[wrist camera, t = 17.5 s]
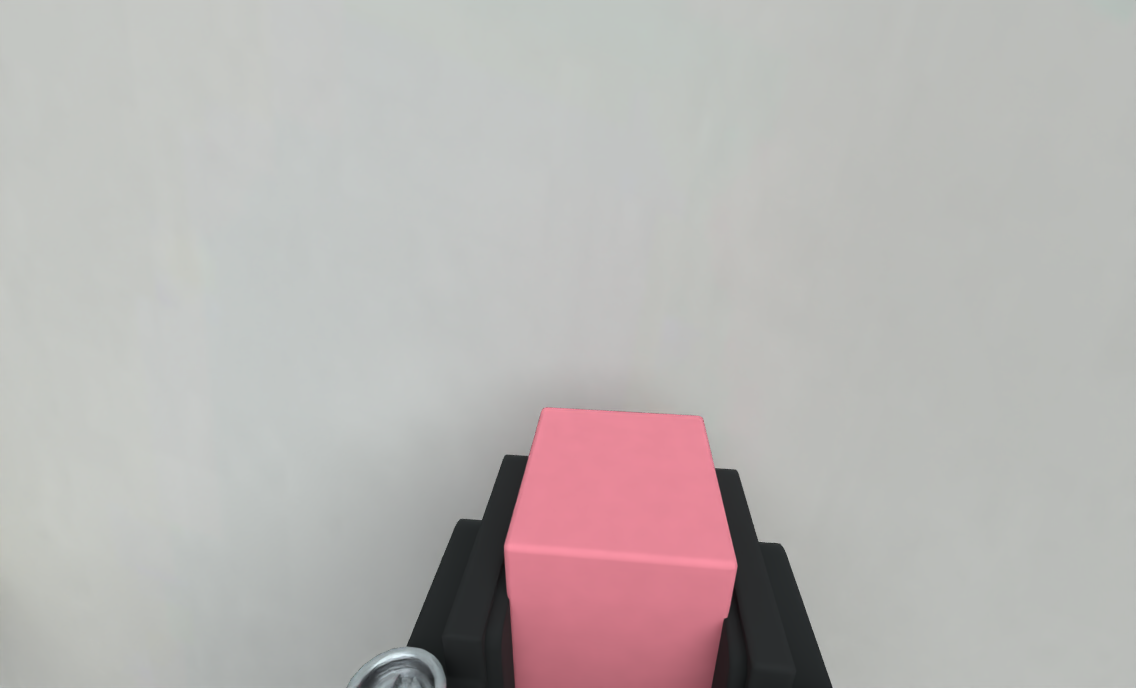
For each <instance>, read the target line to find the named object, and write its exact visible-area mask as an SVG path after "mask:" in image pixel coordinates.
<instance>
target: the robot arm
mask: <svg viewBox="0 0 1136 688" xmlns="http://www.w3.org/2000/svg"><path fill="white" fill-rule="evenodd" d="M528 457H529V456H519V455H505V456H504V459H503V461H502V464H501V467H500V470H499V473H498V476H497V479H496V481H495V484H494V487H493V490H492V493H491V496H490V499H489V502H488V504H487V507H486V510H485V513H484V516H483V519H482V520H470V519H460V520H459V521H458V522H457V524H456V526H455V528H454V531H453V533H452V535H451V538H450V540H449V543H448V545H447V548H446V550H445V553H444V555H443V558H442V560H441V563H440V565H439V568H438V570H437V572H436V575H435V577H434V580H433V582H432V585H431V587H430V590H429V592H428V595H427V597H426V600H425V602H424V605H423V607H422V609H421V612H420V614H419V617H418V619H417V622H416V624H415V627H414V629H413V632H412V634H411V637H410V639H409V641H408V644H407V646H406V647H401V648H394V649H391V650H389V651H386V652H384V653H381V654H379V655H377V656H376V657H374V658H373V659H371V660H370V661H369V662H367V663H366V664H364V665H363V666H362V667H361V668H360V670H359V671H358V672H357V673H356V674H355V675H354V676H353V677H352V678H351V680H350V682H349V684H348V686H347V688H515V680H514V665H513V649H512V633H511V617H510V602H509V598H508V596H507V589H506V573H505V558H504V544H505V540H506V536H507V533H508V529H509V526H510V522H511V518H512V515H513V511H514V508H515V504H516V500H517V497H518V493H519V490H520V486H521V482H522V479H523V475H524V472H525V468H526V464H527V461H528ZM715 471H716V476H717V480H718V484H719V488H720V493H721V497H722V501H723V505H724V510H725V514H726V518H727V522H728V526H729V531H730V535H731V539H732V543H733V548H734V552H735V556H736V560H737V565H738V567H737V572H736V577H735V583H734V588H733V593H732V599H731V604H730V609H729V614H728V617H727V618H724V621H723V626H722V632H721V637H720V643H719V648H718V654H717V659H716V665H715V670H714V676H713V681H712V687H711V688H832V685H831V682H830V679H829V676H828V673H827V670H826V667H825V664H824V662H823V659H822V656H821V653H820V650H819V647H818V644H817V641H816V638H815V636H814V633H813V630H812V627H811V624H810V621H809V618H808V615H807V612H806V610H805V607H804V604H803V601H802V598H801V595H800V592H799V589H798V586H797V584H796V581H795V578H794V575H793V572H792V569H791V566H790V563H789V561H788V558H787V555H786V552H785V550H784V548H783V547H782V546H781V544H778V543H765V542H758V539H757V535H756V532H755V529H754V525H753V522H752V518H751V515H750V511H749V508H748V505H747V501H746V498H745V494H744V491H743V488H742V484H741V481H740V477H739V474H738V472H737V470H732V469H717V468H715Z"/></svg>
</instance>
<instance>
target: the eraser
mask: <svg viewBox="0 0 1136 688" xmlns="http://www.w3.org/2000/svg"><path fill="white" fill-rule="evenodd" d="M504 558H505V573H506V589H507V596H508V598H509V602H510V617H511V633H512V649H513V665H514V680H515V688H711V687H712V681H713V676H714V670H715V665H716V659H717V654H718V648H719V643H720V637H721V632H722V626H723V621H724V618H727V617H728V614H729V609H730V604H731V599H732V593H733V588H734V583H735V577H736V572H737V567H738V565H737V560H736V556H735V552H734V548H733V543H732V539H731V535H730V531H729V526H728V522H727V518H726V514H725V510H724V505H723V501H722V497H721V493H720V488H719V484H718V480H717V476H716V471H715V467H714V463H713V459H712V454H711V450H710V446H709V442H708V437H707V433H706V429H705V425H704V421H703V418H702V417H700V416H692V415H674V414H657V413H639V412H621V411H603V410H585V409H568V408H550V407H546V408H543V409H542V411H541V414H540V418H539V421H538V425H537V428H536V432H535V436H534V439H533V443H532V446H531V450H530V454H529V457H528V461H527V464H526V468H525V472H524V475H523V479H522V482H521V486H520V490H519V493H518V497H517V500H516V504H515V508H514V511H513V515H512V518H511V522H510V526H509V529H508V533H507V536H506V540H505V544H504Z"/></svg>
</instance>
